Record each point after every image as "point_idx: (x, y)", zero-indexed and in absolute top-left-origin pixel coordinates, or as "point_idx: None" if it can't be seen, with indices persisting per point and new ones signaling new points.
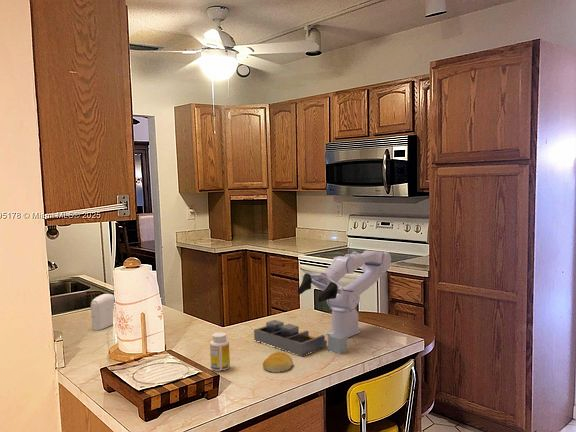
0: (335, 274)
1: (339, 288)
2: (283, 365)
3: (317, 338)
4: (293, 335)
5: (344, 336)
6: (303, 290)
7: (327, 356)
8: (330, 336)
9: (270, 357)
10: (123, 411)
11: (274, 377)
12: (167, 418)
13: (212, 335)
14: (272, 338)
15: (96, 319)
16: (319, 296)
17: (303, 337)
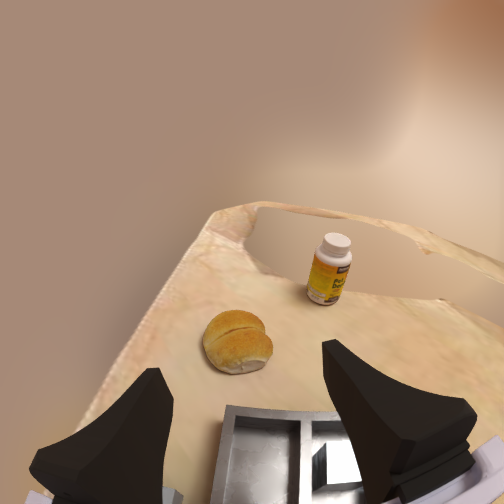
0: None
1: (37, 500)
2: (209, 323)
3: (214, 476)
4: (309, 453)
5: None
6: (339, 407)
7: None
8: (163, 486)
9: (246, 316)
10: (292, 208)
11: (209, 309)
12: (247, 212)
13: (342, 235)
14: None
15: None
16: (152, 368)
17: (295, 495)
